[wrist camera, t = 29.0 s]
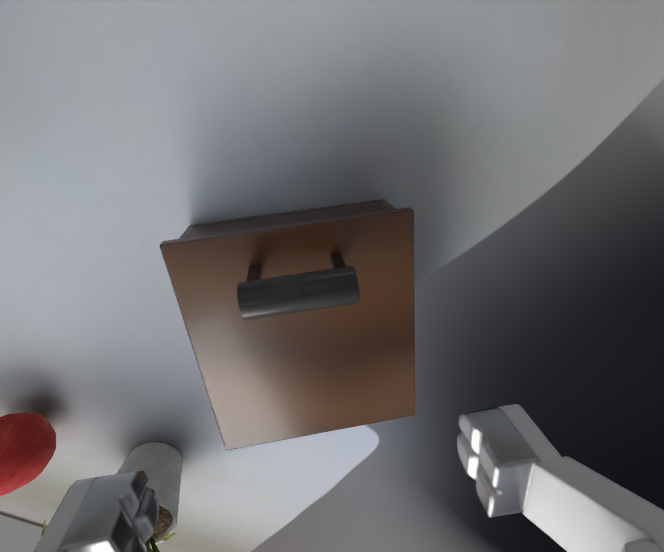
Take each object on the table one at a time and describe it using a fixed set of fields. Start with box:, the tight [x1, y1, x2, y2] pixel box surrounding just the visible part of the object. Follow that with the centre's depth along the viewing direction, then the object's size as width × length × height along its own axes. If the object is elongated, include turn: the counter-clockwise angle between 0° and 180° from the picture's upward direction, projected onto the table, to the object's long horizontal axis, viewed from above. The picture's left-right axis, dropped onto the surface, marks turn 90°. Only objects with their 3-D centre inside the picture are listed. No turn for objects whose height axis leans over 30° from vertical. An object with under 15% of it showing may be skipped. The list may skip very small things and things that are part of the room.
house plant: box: [41, 442, 182, 552], centre depth 29 cm, size 14×14×16 cm
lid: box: [160, 207, 415, 450], centre depth 23 cm, size 17×15×6 cm
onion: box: [0, 413, 56, 496], centre depth 29 cm, size 6×6×8 cm
